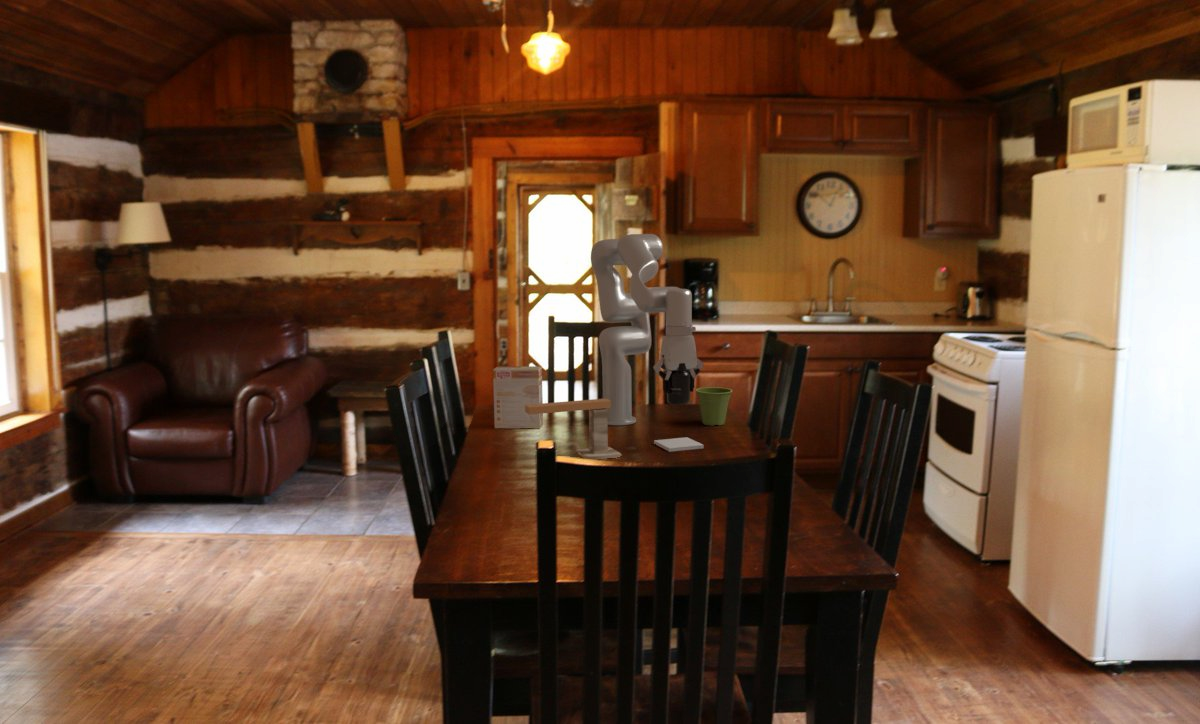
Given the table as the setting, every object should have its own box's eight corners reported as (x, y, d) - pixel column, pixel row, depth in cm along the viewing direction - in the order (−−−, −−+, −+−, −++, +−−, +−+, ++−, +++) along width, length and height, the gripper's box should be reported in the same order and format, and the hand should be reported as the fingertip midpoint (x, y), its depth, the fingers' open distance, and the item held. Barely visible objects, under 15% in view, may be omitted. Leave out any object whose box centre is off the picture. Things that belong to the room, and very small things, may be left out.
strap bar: (525, 411, 275) (524, 404, 274) (605, 405, 283) (605, 398, 283) (529, 414, 271) (529, 407, 271) (610, 407, 279) (610, 400, 279)
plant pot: (730, 428, 317) (731, 393, 315) (693, 427, 319) (693, 392, 317) (733, 420, 328) (733, 387, 327) (697, 419, 331) (697, 386, 329)
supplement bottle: (671, 405, 287) (671, 364, 285) (663, 401, 293) (663, 361, 292) (693, 403, 289) (693, 363, 287) (685, 399, 295) (685, 359, 293)
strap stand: (576, 453, 285) (575, 406, 283) (608, 450, 289) (608, 404, 287) (588, 461, 276) (587, 413, 274) (621, 457, 279) (621, 410, 277)
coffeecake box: (543, 424, 325) (542, 365, 322) (540, 429, 318) (538, 369, 315) (498, 424, 326) (497, 365, 324) (494, 428, 319) (492, 369, 317)
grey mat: (653, 443, 296) (653, 440, 296) (687, 440, 300) (687, 437, 300) (669, 451, 286) (669, 448, 286) (703, 448, 290) (703, 444, 290)
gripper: (699, 328, 295) (699, 388, 297) (646, 331, 289) (646, 392, 291) (711, 331, 288) (711, 391, 290) (656, 334, 282) (656, 396, 284)
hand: (678, 391), depth 291 cm, fingers closed on supplement bottle, 6 cm apart
